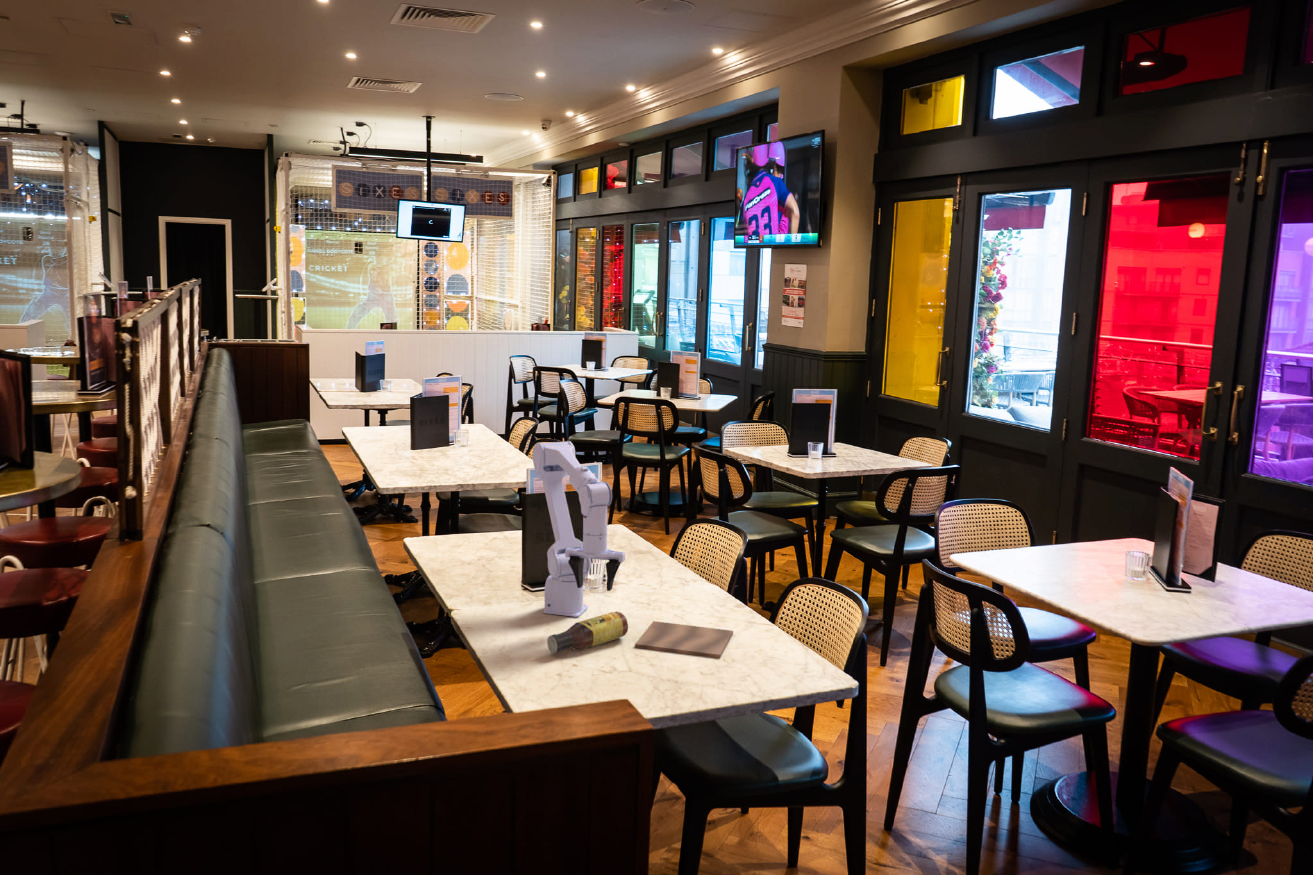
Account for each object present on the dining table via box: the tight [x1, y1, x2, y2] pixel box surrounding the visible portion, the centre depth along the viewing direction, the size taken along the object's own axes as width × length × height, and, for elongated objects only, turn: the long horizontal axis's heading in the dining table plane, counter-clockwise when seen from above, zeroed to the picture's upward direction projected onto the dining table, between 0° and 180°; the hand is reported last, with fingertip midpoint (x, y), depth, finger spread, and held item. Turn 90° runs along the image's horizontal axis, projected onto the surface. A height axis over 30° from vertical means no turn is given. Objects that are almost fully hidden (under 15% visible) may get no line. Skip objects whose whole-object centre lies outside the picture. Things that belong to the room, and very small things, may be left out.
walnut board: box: [634, 620, 734, 659], centre depth 221 cm, size 20×16×1 cm
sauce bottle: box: [546, 611, 629, 654], centre depth 215 cm, size 6×6×20 cm
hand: (594, 588), depth 225 cm, fingers open, 7 cm apart
